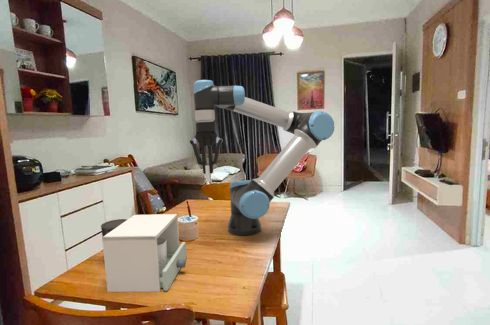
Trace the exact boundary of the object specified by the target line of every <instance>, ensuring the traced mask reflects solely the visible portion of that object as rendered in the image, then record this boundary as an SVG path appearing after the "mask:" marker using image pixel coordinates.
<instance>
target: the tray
mask: <svg viewBox="0 0 490 325" xmlns="http://www.w3.org/2000/svg"><path fill="white" fill-rule="evenodd" d="M186 243H187V242H186V241H182V242H181V243H180V244H179V248H178V249H177V251H176V252H175V254H167V265H166V267H165V268H164V270H163V271H162V273H161V274H159V276H160V289H163V291H165V292H166V291H169V289H170V287H171V285H172V284H173V282H174V280H175V279H176V276H177V275H178V274H179V272H180V270H181V268H186V264H187V263H186V259H187V257H188V256H187V245H186Z"/></svg>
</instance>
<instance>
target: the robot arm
mask: <svg viewBox="0 0 490 325" xmlns="http://www.w3.org/2000/svg"><path fill="white" fill-rule="evenodd" d="M193 101H194V120H195V121H196V123H195V133H196V134H195V136H194V138H193V139H191V140H189V143H190V145H191V147H192V149H193V151H194V156H195V159H196V161H197V162H196V163H197V164H198V165H201V166H202V173H203V174H205V183H211V182H212V174H214V165H216V164H217V163H218V159H219V156H220V151H221V145H222V143H223V141H224V140H223V138H220V137H218V134H217V132H216V130H217V129H216V122H215V120H216V114H215V113H216V112H215V106H216V107H217V108H219V109H225V110H228V111H232V112H235V113H238V114H240V115H244V116H247V117H250V118H253V119H256V120H258V121H262V122H264V123H268V124H271V125H273V126H277V127H280V128H282V129H283V131H285V132H287V133H289V134H293V135H294V136H292V138H291V139H290V141H288V143H286V145H285V146H284V147H283V148H282V150H281V151H280V152H279V153H278V154H277V155H276V157H275V158H274V159H273V160H272V161H271V162H270V164H268V166H267V167H266V169H264V171H263V172H262V173H261V174H260V175H259V176H258V177H257V178H253V179H249V180H247V179H246V180H238V181H237V180H236V181H234V180H233V181H231V182H230V184H229V192H230V193H229V195H230V218H229V220H228V225H227V231H228V233H230V235H231V234H232V235H234V236H235V235H236V236H251V235H255V234H258V233H259V232H261V230H262V228H261V221H260V219H259V218H262V217H264V216H265V215H266V214H267V213H268V211H269V210H270V203H271V201H273V199H274V197H275V191H276V190H277V188H278V187H280V185H281V183H283V181H284V180H285V179H286V178H287V177H288V176H289V174H290V173H291V172H292V171H293V169H294V168H295V167H296V166H297V165H298V163H300V162H301V160H302V159H303V157H305V155H306V154H307V153H308V152H309V151H310V150H311V149H316V148H317V147H318V146H319V145H320V143H321V142H322V141H326V140H327V139H329V138H330V137H332V136H333V134H334V132H335V121H334V119H333V117H332V116H331V114H329V113H328V112H327V111H321V110H317V111H312V112H311V111H310V112H298V111H297V112H296V111H294V110H289V111H287V110H285V109H284V110H283V109H281V108H278V107H275V106H272V105H270V104H266V103H264V102H261V101H257V99H256V100H254V99H253V98H249V97H246V93H245V88H244V86H242V85H214V81H213V80H212V79H211V80H210V79H200V80H199V79H198V80H196V81H195V82H193ZM215 142H216V147H215V152H214V156H213V145H214V144H215ZM197 144H199V145H200V149H201V154H200V150H199V148H198V145H197ZM206 148H207V149H206ZM207 154H208V164H207Z"/></svg>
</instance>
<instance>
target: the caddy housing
mask: <svg viewBox="0 0 490 325" xmlns="http://www.w3.org/2000/svg"><path fill="white" fill-rule="evenodd" d="M127 219H128V220H126V221H125V222H123V223H122V224H121V225H119V226H118V227H116V228H115V229H114V230H112V231H111V232H109V233H108V234H106V235H105V236H104V237H101V239H102V240H101V241H102V251H103V259H104V261H103V262H104V267H105V268H104V270H105V280H106V290H107V293H113V292H114V293H129V292H130V293H136V292H137V293H141V292H142V293H146V292H147V293H149V292H150V293H151V292H152V293H153V292H161V291H162V290H161V289H162V288H160V276H159V263H158V251H157V238H158V237H160V238H165V239H166V241H167V254H175V252H176V251H177V249H178V248H179V246H180V236H179V235H180V233H179V221H178V214H177V213H164V214H163V213H157V214H156V213H155V214H133V215H132V216H130V217H129V218H127Z"/></svg>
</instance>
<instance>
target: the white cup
mask: <svg viewBox="0 0 490 325" xmlns="http://www.w3.org/2000/svg"><path fill="white" fill-rule="evenodd" d="M157 251H158V263H159V274H161V273H162V271H163V270H164V268H165V267H166V265H167V241H166V239H165V238H160V237H158V238H157Z"/></svg>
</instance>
